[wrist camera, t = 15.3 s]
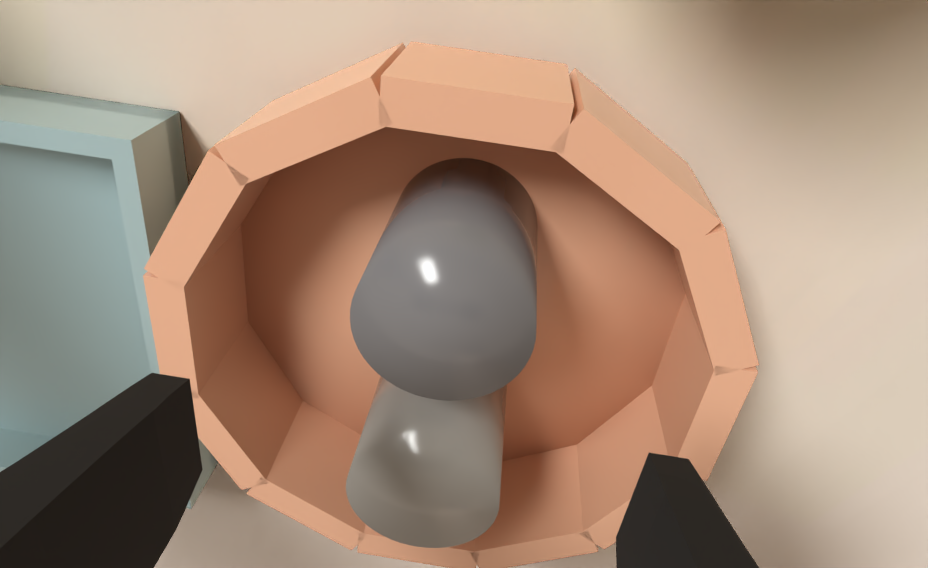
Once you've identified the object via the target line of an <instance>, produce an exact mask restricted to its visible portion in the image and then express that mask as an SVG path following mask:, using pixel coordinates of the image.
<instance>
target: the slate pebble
mask: <svg viewBox="0 0 928 568" xmlns="http://www.w3.org/2000/svg"><path fill="white" fill-rule="evenodd" d="M506 393H507V385H505V386H504V387H502V388H500V389H498V390H496V391H495V392H493V393H490V394H487V395H485V396H481V397H477V398H474V399H468V400H458V401H445V400H435V399H429V398H425V397H421V396H417V395H414V394H412V393H409V392H406V391H404V390H402V389H400V388H398V387H396V386H394V385H393V384H391V383H390V382H388V381H387V380H385V379H384V378H383V377H381V376H380V379H379V382H378V385H377V388H376V391H375V394H374V397H373V400H372V403H371V406H370V409H369V412H368V415H367V418H366V421H365V425H364V428H363V431H362V434H361V437H360V440H359V443H358V446H357V449H356V452H355V455H354V458H353V461H352V464H351V467H350V470H349V473H348V476H347V480H346V494H347V498H348V501H349V503H350V505H351V507H352V509H353V510H354V512H355V513H356V515H357V516H358V517H359V518H360V519H361V520H362V521H363V522H364V523H365V524H366V525H367V526H368V527H370V528H371V529H373V530H374V531H376V532H377V533H379V534H381V535H383V536H385V537H387V538H389V539H391V540H394V541H397V542H399V543H403V544H407V545H411V546H416V547H424V548H444V547H452V546H457V545H460V544H464V543H467V542H469V541H472V540H474V539H475V538H477V537H479V536H480V535H482V534H483V533H485V532H486V531H487V530H488V529H489V528H490V527H491V525H492V524H493V523H494V521H495V519H496V517H497V515H498V511H499V503H500V488H501V472H502V456H503V440H504V424H505V408H506Z"/></svg>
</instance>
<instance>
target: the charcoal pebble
mask: <svg viewBox="0 0 928 568" xmlns="http://www.w3.org/2000/svg"><path fill="white" fill-rule="evenodd" d="M537 230H538V224H537V215H536V211H535V207H534V204H533V202H532V199H531V198H530V196H529V194H528V192H527V191H526V189H525V188H524V187H523V185H522V184H521V183H520V182H519V181H518V180H517V179H516V178H515V177H514V176H512V175H511V174H510V173H509V172H507V171H506V170H504V169H502V168H500V167H499V166H497V165H494V164H492V163H489V162H486V161H483V160H478V159H472V158H455V159H448V160H444V161H440V162H437V163H435V164H432V165H430V166H428V167H427V168H425V169H423V170H422V171H420V172H419V173H418V174H416V175H415V176H414V177H413V178H412V179H411V180H410V182H409V183H408V184H407V185H406V187H405V188H404V190H403V192H402V194H401V195H400V198H399V200H398V202H397V204H396V206H395V208H394V210H393V212H392V214H391V217H390V219H389V221H388V223H387V225H386V227H385V229H384V231H383V233H382V235H381V238H380V240H379V242H378V244H377V246H376V248H375V250H374V252H373V254H372V256H371V259H370V261H369V263H368V265H367V267H366V269H365V271H364V273H363V275H362V277H361V280H360V282H359V284H358V286H357V288H356V290H355V293H354V296H353V298H352V302H351V307H350V325H351V331H352V335H353V338H354V341H355V343H356V345H357V348H358V350H359V351H360V353H361V355H362V356H363V358H364V359H365V360H366V362H367V363H368V364H369V365H370V366H371V367H372V368H373V369H374V370H375V371H376V372H377V373H378V374H379V375H380V376H381V377H383V378H384V379H385V380H387V381H388V382H390V383H391V384H393V385H394V386H396V387H398V388H400V389H402V390H404V391H406V392H409V393H412V394H414V395H417V396H421V397H425V398H429V399H435V400H445V401H458V400H468V399H474V398H477V397H481V396H485V395H487V394H490V393H493V392H495V391H496V390H498V389H500V388H502V387H504V386H505V385H507V384H508V383H509V382H511V381H512V380H513V379H514V378H515V377H516V376H517V375H518V374H519V373H520V372H521V371H522V370H523V368H524V367H525V366H526V364H527V362H528V361H529V359H530V357H531V354H532V352H533V349H534V345H535V341H536V326H537Z"/></svg>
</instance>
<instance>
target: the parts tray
mask: <svg viewBox="0 0 928 568" xmlns="http://www.w3.org/2000/svg"><path fill="white" fill-rule="evenodd" d="M187 188H188V180H187V171H186V163H185V154H184V146H183V138H182V129H181V121H180V112H178V111H171V110H164V109H158V108H151V107H145V106H138V105H131V104H125V103H118V102H111V101H105V100H98V99H91V98H85V97H78V96H72V95H65V94H58V93H52V92H45V91H38V90H32V89H25V88H18V87H12V86H5V85H0V472H1V471H2V470H4V469H6V468H7V467H9V466H11V465H12V464H14V463H15V462H17V461H18V460H20V459H22V458H23V457H25V456H26V455H28V454H29V453H31V452H32V451H34V450H35V449H37V448H38V447H40V446H41V445H43V444H45V443H46V442H48V441H49V440H51V439H52V438H54V437H55V436H57V435H58V434H60V433H61V432H63V431H64V430H66V429H68V428H69V427H71V426H72V425H74V424H75V423H77V422H78V421H80V420H81V419H83V418H84V417H86V416H87V415H89V414H90V413H92V412H93V411H94V410H96V409H97V408H99V407H100V406H102V405H103V404H105V403H106V402H108V401H109V400H111V399H112V398H114V397H115V396H117V395H118V394H120V393H121V392H123V391H124V390H126V389H127V388H129V387H130V386H132V385H133V384H135V383H136V382H138V381H139V380H141V379H143V378H144V377H146V376H147V375H149V374H150V373H157V374H160V371H159V365H158V360H157V354H156V348H155V342H154V337H153V331H152V325H151V320H150V314H149V308H148V302H147V297H146V291H145V285H144V279H143V275H144V274H145V273H146V272H147V270H145V269H144V268H145V266H146V264H147V262H148V260H149V258H150V256H151V255H152V253H153V251H154V249H155V247H156V245H157V244H158V242H159V240H160V238H161V236H162V234H163V233H164V231H165V229H166V227H167V225H168V223H169V221H170V220H171V218H172V216H173V214H174V212H175V210H176V209H177V207H178V205H179V203H180V201H181V199H182V198H183V196H184V194H185V192H186V190H187ZM198 441H199V448H200V455H201V462H202V469H203V470H202V472H201V475H200V477H199V479H198V481H197V484H196V486H195V488H194V491H193V493H192V495H191V498H190V500H189V502H188V505H187V507H186V508H189V509H192V507H193V505H194V503H195V502H196V500H197V498H198V496H199V495H200V493H201V491H202V489H203V488H204V486H205V484H206V482H207V481H208V479H209V477H210V475H211V474H212V472H213V470H214V468H215V467H216V465H217V463H218V461H217V460H216V459H215V457H214V456H213V455H212V454H211V453H210V451H209V450H208V449H207V448H206V446H205V445H204V444H203V443H202V442H201V440H200V439H199V438H198Z"/></svg>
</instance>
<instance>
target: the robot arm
mask: <svg viewBox="0 0 928 568" xmlns="http://www.w3.org/2000/svg"><path fill="white" fill-rule="evenodd" d="M202 470H203V469H202V462H201V455H200V448H199V441H198V434H197V427H196V420H195V413H194V406H193V399H192V392H191V385H190V379H188V378H182V377H176V376H169V375H163V374H157V373H150V374H149V375H147V376H146V377H144V378H143V379H141V380H139V381H138V382H136V383H135V384H133V385H132V386H130V387H129V388H127V389H126V390H124V391H123V392H121V393H120V394H118V395H117V396H115V397H114V398H112V399H111V400H109V401H108V402H106V403H105V404H103V405H102V406H100V407H99V408H97V409H96V410H94V411H93V412H92V413H90V414H89V415H87V416H86V417H84V418H83V419H81V420H80V421H78V422H77V423H75V424H74V425H72V426H71V427H69V428H68V429H66V430H64V431H63V432H61V433H60V434H58V435H57V436H55V437H54V438H52V439H51V440H49V441H48V442H46V443H45V444H43V445H41V446H40V447H38V448H37V449H35V450H34V451H32V452H31V453H29V454H28V455H26V456H25V457H23V458H22V459H20V460H18V461H17V462H15V463H14V464H12V465H11V466H9V467H7V468H6V469H4V470H2V471H1V472H0V568H154V566H155V564H156V563H157V561H158V559H159V558H160V556H161V554H162V553H163V551H164V549H165V548H166V546H167V544H168V542H169V541H170V539H171V537H172V536H173V534H174V532H175V530H176V528H177V526H178V524H179V522H180V520H181V517H182V515H183V513H184V511H185V509H186V507H187V505H188V502H189V500H190V498H191V495H192V493H193V491H194V488H195V486H196V484H197V481H198V479H199V477H200V475H201V472H202ZM616 557H617V568H759V567H758V565H757V564H756V562H755V561H754V559H753V558H752V556H751V555H750V553H749V552H748V550H747V549H746V547H745V546H744V544H743V543H742V541H741V540H740V538H739V537H738V535H737V534H736V532H735V530H734V529H733V527H732V526H731V524H730V523H729V521H728V520H727V518H726V517H725V515H724V513H723V512H722V510H721V509H720V507H719V505H718V504H717V502H716V501H715V499H714V498H713V496H712V494H711V493H710V491H709V490H708V488H707V487H706V485H705V483H704V482H703V480H702V479H701V477H700V475H699V474H698V472H697V471H696V469H695V468H694V466H693V465H692V463H691V462H690V460H689V459H686V458H680V457H674V456H668V455H661V454H655V453H648V456H647V458H646V461H645V464H644V466H643V469H642V471H641V474H640V476H639V479H638V482H637V484H636V487H635V489H634V492H633V495H632V497H631V500H630V502H629V505H628V507H627V510H626V513H625V515H624V518H623V520H622V523H621V526H620V528H619V531H618V533H617V536H616Z"/></svg>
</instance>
